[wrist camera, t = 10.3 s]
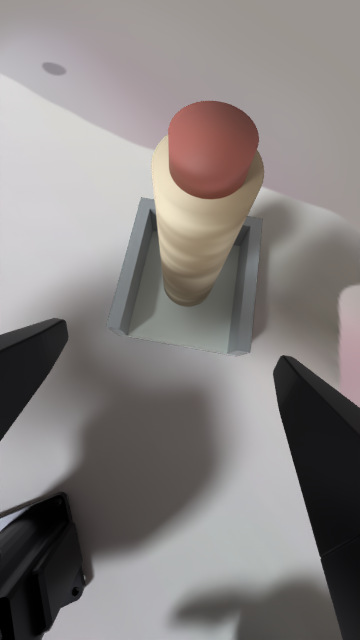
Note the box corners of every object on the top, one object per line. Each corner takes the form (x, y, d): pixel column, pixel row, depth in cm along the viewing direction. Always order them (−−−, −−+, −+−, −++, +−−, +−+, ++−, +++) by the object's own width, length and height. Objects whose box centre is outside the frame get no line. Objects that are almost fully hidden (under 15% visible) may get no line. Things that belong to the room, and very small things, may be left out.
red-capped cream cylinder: (158, 301, 20) (134, 174, 7) (168, 257, 21) (162, 77, 8) (207, 310, 20) (272, 200, 7) (214, 266, 21) (282, 99, 8)
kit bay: (118, 334, 19) (106, 326, 16) (145, 224, 22) (141, 197, 19) (236, 356, 19) (250, 352, 16) (248, 242, 22) (262, 218, 19)
